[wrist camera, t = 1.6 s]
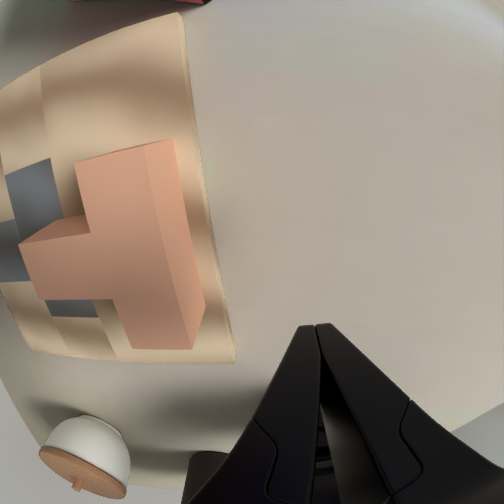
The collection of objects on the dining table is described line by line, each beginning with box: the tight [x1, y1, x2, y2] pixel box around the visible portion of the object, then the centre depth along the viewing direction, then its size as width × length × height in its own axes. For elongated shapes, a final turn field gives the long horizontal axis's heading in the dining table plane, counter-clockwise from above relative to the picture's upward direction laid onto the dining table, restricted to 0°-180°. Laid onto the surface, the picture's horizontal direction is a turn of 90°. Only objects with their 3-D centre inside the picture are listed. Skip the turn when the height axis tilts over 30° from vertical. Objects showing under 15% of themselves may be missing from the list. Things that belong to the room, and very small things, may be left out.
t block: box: [18, 138, 206, 350], centre depth 15 cm, size 10×9×4 cm
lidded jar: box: [39, 415, 131, 499], centre depth 25 cm, size 11×11×9 cm
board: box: [0, 12, 236, 364], centre depth 18 cm, size 22×20×1 cm
